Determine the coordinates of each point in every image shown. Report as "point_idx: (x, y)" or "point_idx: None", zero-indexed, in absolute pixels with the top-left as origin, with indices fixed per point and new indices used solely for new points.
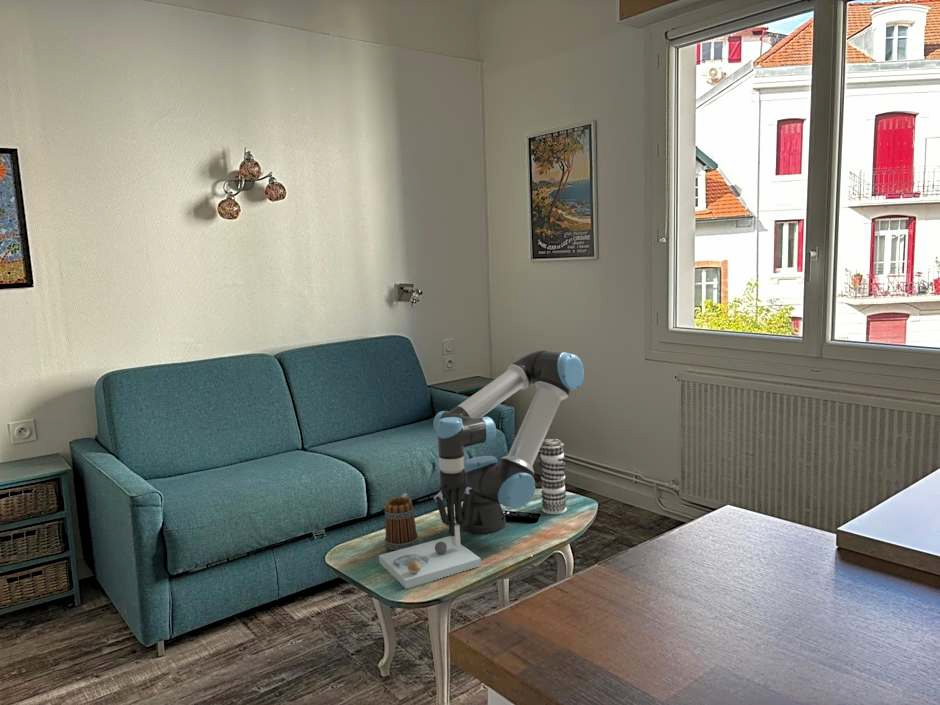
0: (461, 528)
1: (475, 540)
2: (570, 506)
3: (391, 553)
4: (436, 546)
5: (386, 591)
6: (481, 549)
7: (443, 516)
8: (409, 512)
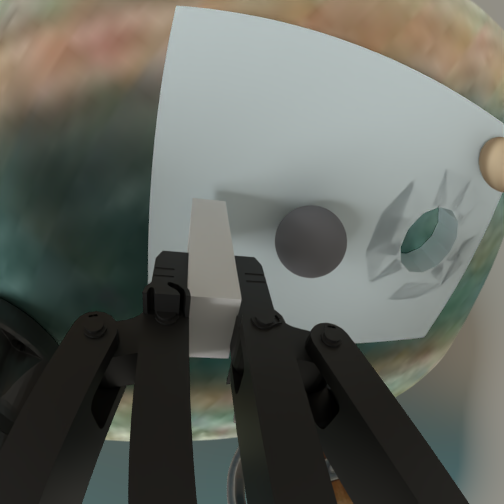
0: (158, 278)
1: (52, 280)
2: None
3: (402, 331)
4: (345, 249)
5: None
6: (62, 190)
7: (401, 408)
8: (333, 474)
